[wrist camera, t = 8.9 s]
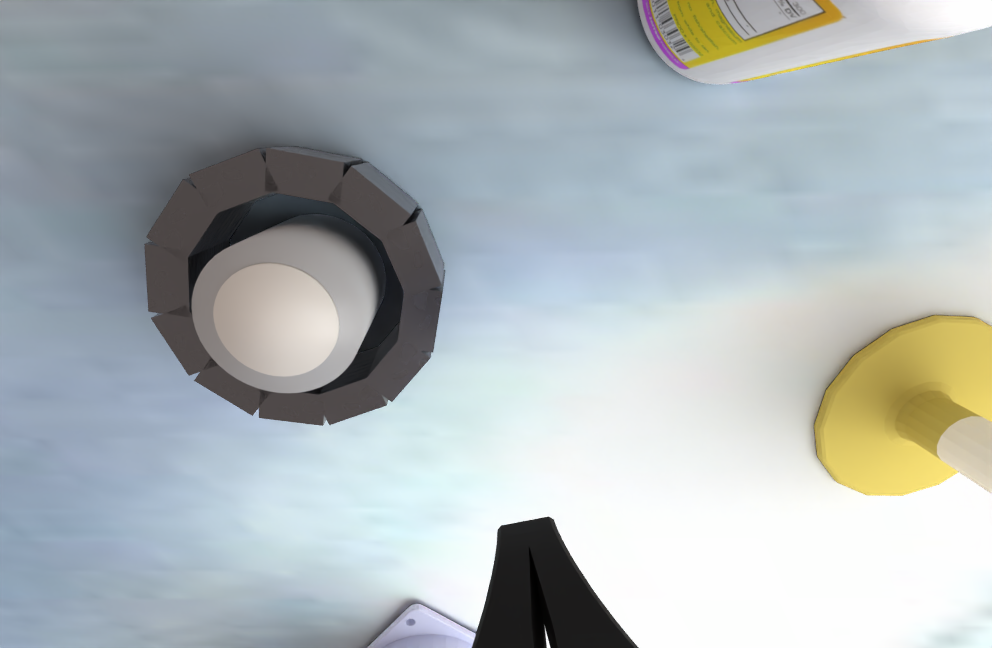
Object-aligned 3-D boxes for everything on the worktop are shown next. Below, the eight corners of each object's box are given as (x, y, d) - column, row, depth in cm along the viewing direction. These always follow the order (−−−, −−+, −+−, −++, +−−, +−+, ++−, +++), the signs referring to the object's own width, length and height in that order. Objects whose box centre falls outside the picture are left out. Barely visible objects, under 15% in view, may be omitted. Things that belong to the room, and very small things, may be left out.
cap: (341, 357, 21) (304, 423, 16) (233, 287, 19) (157, 336, 14) (410, 267, 19) (394, 309, 15) (301, 186, 18) (242, 202, 13)
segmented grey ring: (351, 423, 22) (335, 466, 19) (147, 293, 19) (93, 319, 16) (490, 263, 20) (495, 283, 17) (281, 90, 17) (246, 80, 14)
